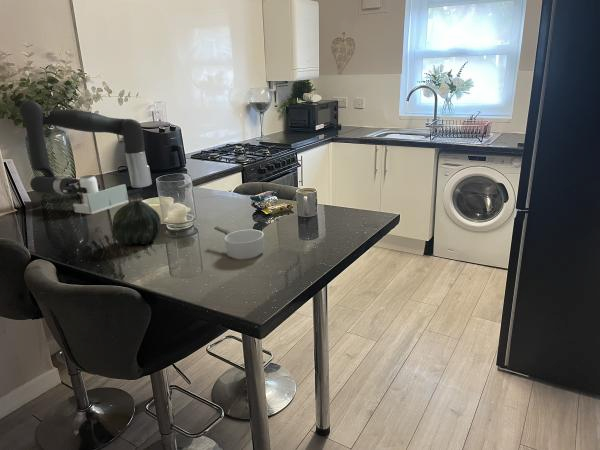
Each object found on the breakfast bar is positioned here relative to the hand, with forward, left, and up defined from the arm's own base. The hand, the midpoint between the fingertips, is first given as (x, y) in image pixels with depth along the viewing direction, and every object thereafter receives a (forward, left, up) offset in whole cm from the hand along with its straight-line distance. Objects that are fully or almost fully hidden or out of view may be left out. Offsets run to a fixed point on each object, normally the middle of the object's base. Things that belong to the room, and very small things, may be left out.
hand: (92, 188), depth 188 cm
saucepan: (+18, +86, -10) cm, 89 cm away
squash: (+22, +50, -10) cm, 56 cm away
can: (0, -2, -7) cm, 8 cm away
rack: (-5, -2, -9) cm, 11 cm away
